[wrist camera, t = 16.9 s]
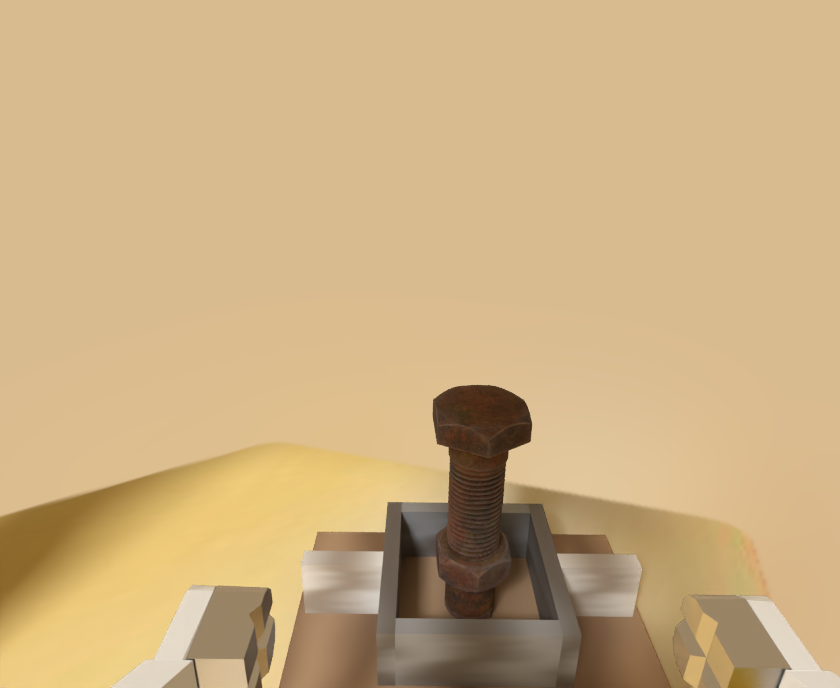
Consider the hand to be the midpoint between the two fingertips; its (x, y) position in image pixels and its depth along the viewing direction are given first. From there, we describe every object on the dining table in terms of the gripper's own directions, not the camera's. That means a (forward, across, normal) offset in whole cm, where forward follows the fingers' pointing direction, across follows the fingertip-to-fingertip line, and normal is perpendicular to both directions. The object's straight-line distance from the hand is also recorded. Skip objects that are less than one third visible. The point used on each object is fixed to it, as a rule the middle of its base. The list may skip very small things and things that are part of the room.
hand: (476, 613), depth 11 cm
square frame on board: (+19, -3, +22) cm, 30 cm away
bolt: (+19, -3, +21) cm, 29 cm away
